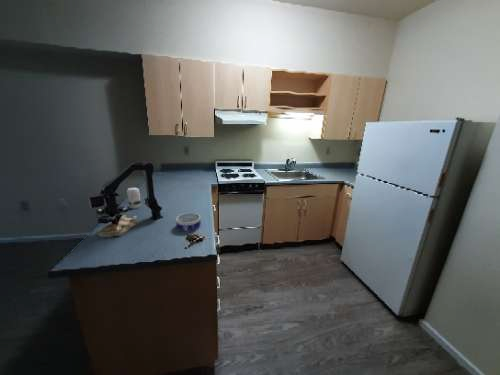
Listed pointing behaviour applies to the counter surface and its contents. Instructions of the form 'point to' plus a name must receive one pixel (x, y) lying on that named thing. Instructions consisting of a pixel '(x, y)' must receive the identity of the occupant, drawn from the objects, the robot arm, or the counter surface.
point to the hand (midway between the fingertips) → (115, 227)
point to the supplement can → (134, 197)
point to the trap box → (120, 227)
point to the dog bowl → (188, 221)
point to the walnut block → (110, 228)
